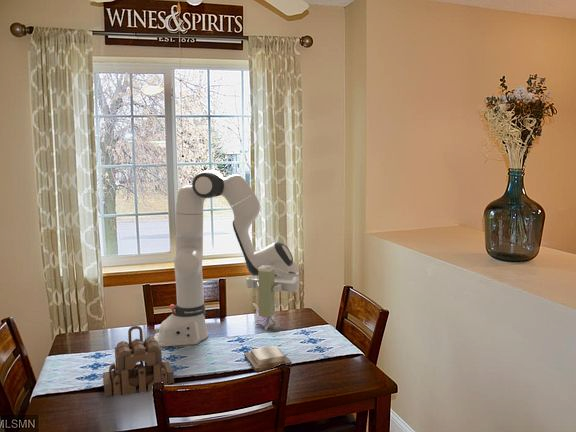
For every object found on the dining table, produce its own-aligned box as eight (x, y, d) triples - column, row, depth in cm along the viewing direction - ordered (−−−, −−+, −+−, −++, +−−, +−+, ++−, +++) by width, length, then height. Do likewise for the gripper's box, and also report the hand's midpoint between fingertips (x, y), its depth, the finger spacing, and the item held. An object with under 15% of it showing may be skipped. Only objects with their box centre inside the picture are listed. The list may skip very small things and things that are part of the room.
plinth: (255, 371, 175) (255, 363, 175) (244, 356, 188) (244, 348, 188) (291, 365, 180) (291, 356, 180) (278, 350, 193) (278, 343, 193)
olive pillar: (258, 316, 181) (258, 268, 178) (263, 312, 185) (262, 265, 182) (270, 317, 179) (269, 269, 177) (274, 313, 183) (274, 266, 181)
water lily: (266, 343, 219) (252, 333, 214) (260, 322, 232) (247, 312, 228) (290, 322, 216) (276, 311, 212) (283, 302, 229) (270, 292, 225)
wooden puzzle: (105, 400, 156) (102, 344, 154) (102, 380, 169) (99, 328, 167) (175, 386, 165) (173, 333, 163) (167, 369, 178) (165, 319, 176)
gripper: (253, 269, 196) (239, 278, 183) (303, 273, 189) (291, 283, 176) (254, 285, 197) (239, 294, 184) (303, 289, 190) (291, 300, 177)
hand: (265, 289), depth 180 cm, fingers closed on olive pillar, 4 cm apart
